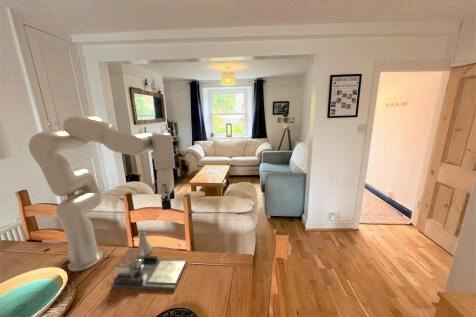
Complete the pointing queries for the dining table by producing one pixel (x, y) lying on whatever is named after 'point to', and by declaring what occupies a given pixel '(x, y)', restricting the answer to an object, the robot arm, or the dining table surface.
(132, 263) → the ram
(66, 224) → the robot arm
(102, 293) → the dining table surface
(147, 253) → the flask
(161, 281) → the press base
